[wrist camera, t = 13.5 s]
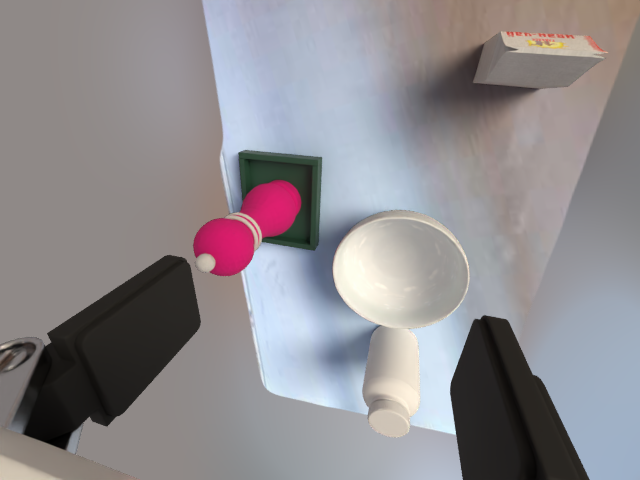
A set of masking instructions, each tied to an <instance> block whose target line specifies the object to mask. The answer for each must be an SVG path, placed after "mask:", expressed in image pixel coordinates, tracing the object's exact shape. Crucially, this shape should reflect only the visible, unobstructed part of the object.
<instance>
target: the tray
mask: <svg viewBox="0 0 640 480" xmlns="http://www.w3.org/2000/svg"><path fill="white" fill-rule="evenodd" d="M239 165H240V177H241V189H242V200H243V201H244V199H245V197H246V195H247V194H248V193H249V192H250V191H251V190H252V189H253V188H255V187H256V186H258V185H260V184H265V183H270V182H271V181H274V180H284V181H287V182H289V183H290V184H292V185H293V186H294V187H295V188H296V189H297V190H298V192H299V194H300V197H301V208H300V211H299V213H298V214H297V215H296V216H295V220H294V222H293V224H292V225H291V227H290V228H289V229H287V230H286V231H285V232H284V233H282V234H280V235H277V236H273V237H264V238H262V241H261V242H266V243H272V244H278V245H284V246H290V247H296V248H302V249H308V250H314V251H315V250H316V248H317V246H318V242H319V219H320V196H321V172H322V157H313V156H302V155H292V154H281V153H271V152H260V151H249V150H245V151H242V152H239Z"/></svg>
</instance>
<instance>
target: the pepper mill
mask: <svg viewBox="0 0 640 480" xmlns="http://www.w3.org/2000/svg"><path fill="white" fill-rule="evenodd" d="M300 208H301V197H300V194H299V192H298V190H297V189H296V188H295V187H294V186H293V185H292V184H290V183H289V182H287V181H284V180H274V181H271V182H270V183H265V184H260V185H258V186H256V187H255V188H253V189H252V190H251V191H250V192H249V193H248V194H247V195H246V197H245V199H244V201H243V204H242V207H241V210H240V212H239V213H237V212H236V213H231V214H229V215H227V216H226V217H224V218H219V219H214V220H211V221H210V222H207V223H206V224H205V225H203V226H202V227H201V228H200V230H199V231H198V232H197V234H196V236H195V239H194V244H193V247H194V253H195V256H196V261H195V266H196V268H197V269H198V270H199V271H201V272H205V273H206V272H210V273H212V274H215V275H219V276H231V275H235V274H237V273H239V272H241V271H242V270H243V269H245V268H246V267H247V265H248V264H249V263H250V261H251V260H252V257H253V254H254V252H255V251H256V250H257V249H258V248H259V246H260V244H261V241H262V238H264V237H273V236H277V235H280V234H282V233H284V232H285V231H286V230H287V229H289V228H290V227H291V225H292V224H293V222H294V220H295V216H296V215H297V214H298V213H299V211H300Z"/></svg>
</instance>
